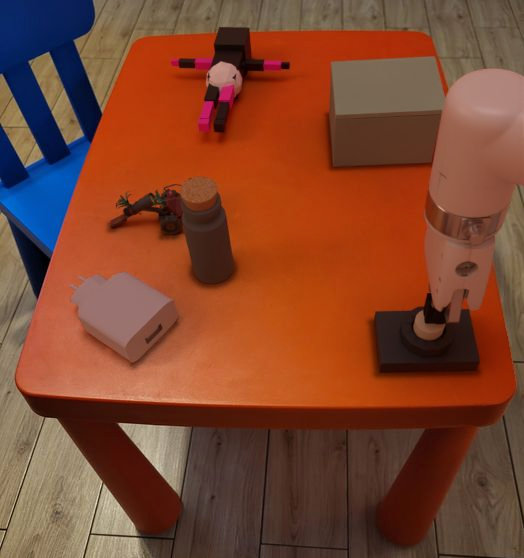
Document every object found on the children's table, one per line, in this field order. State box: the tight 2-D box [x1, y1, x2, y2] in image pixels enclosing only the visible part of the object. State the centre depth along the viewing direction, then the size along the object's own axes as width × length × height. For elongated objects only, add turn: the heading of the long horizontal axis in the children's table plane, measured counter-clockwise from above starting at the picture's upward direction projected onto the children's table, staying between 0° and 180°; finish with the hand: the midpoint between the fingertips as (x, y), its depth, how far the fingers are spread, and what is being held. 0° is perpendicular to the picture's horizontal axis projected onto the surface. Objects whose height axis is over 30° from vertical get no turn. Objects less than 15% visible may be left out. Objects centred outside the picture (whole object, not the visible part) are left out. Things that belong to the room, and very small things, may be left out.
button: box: [413, 310, 445, 341], centre depth 75 cm, size 4×4×2 cm
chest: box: [328, 72, 442, 168], centre depth 98 cm, size 16×14×9 cm
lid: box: [330, 55, 446, 119], centre depth 93 cm, size 16×14×1 cm
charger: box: [68, 271, 179, 363], centre depth 82 cm, size 5×9×15 cm
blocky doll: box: [170, 26, 291, 134], centre depth 107 cm, size 22×25×6 cm
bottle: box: [179, 176, 235, 285], centre depth 81 cm, size 6×6×15 cm
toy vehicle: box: [109, 177, 192, 236], centre depth 91 cm, size 7×15×8 cm, turn 94°
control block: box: [373, 306, 481, 373], centre depth 77 cm, size 12×8×4 cm, turn 89°
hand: (436, 317), depth 73 cm, fingers closed
